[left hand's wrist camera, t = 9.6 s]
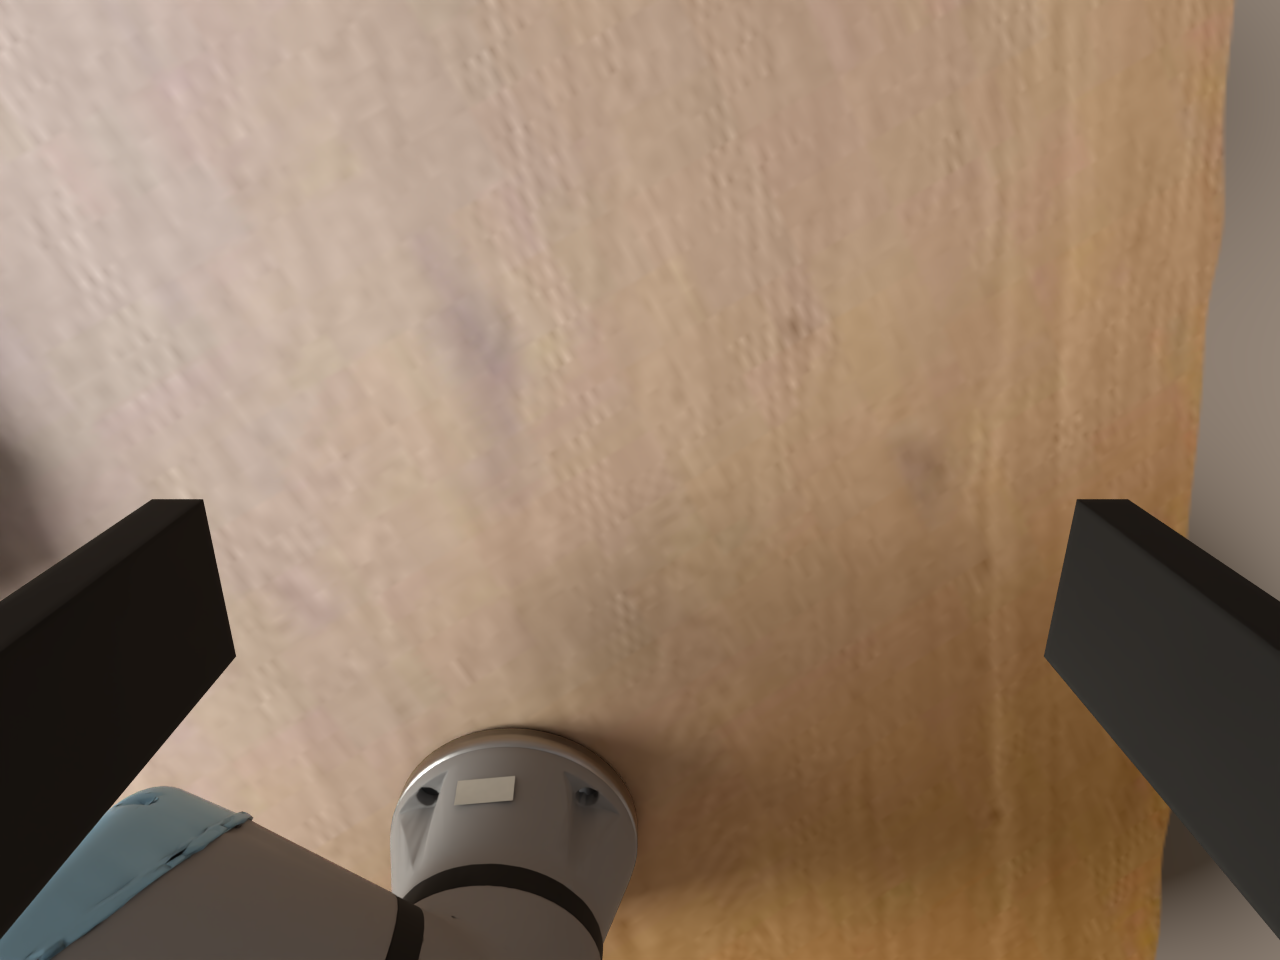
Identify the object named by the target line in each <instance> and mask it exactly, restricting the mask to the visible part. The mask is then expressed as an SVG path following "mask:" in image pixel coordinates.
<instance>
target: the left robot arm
mask: <svg viewBox="0 0 1280 960" xmlns="http://www.w3.org/2000/svg"><path fill="white" fill-rule="evenodd" d="M235 657H236V654H235V649H234V644H233V640H232V635H231V630H230V625H229V621H228V616H227V611H226V606H225V601H224V597H223V592H222V587H221V582H220V578H219V573H218V568H217V563H216V559H215V554H214V549H213V544H212V540H211V535H210V530H209V525H208V521H207V516H206V511H205V506H204V502H203V499H152V500H150V501H149V502H147V503H146V504H144V505H143V506H141V507H140V508H139V509H137V510H136V511H134V512H133V513H131V514H130V515H128V516H127V517H125V518H124V519H122V520H121V521H119V522H118V523H116V524H115V525H113V526H112V527H110V528H109V529H107V530H106V531H104V532H103V533H101V534H100V535H98V536H97V537H95V538H94V539H92V540H91V541H89V542H88V543H87V544H85V545H84V546H82V547H81V548H79V549H78V550H76V551H75V552H73V553H72V554H70V555H69V556H67V557H66V558H64V559H63V560H61V561H60V562H58V563H57V564H55V565H54V566H52V567H51V568H49V569H48V570H46V571H45V572H43V573H42V574H40V575H39V576H37V577H36V578H35V579H33V580H32V581H30V582H29V583H27V584H26V585H24V586H23V587H21V588H20V589H18V590H17V591H15V592H14V593H12V594H11V595H9V596H8V597H6V598H5V599H3V600H2V601H0V960H602V956H603V943H604V941H605V938H606V936H607V933H608V931H609V929H610V926H611V924H612V921H613V919H614V917H615V914H616V912H617V910H618V907H619V905H620V902H621V900H622V898H623V895H624V893H625V890H626V888H627V886H628V883H629V881H630V878H631V875H632V872H633V869H634V866H635V862H636V856H637V816H636V810H635V806H634V803H633V800H632V798H631V795H630V793H629V791H628V789H627V788H626V786H625V784H624V783H623V781H622V780H621V778H620V777H619V776H618V774H617V773H616V772H615V771H614V770H613V769H612V768H611V767H610V766H609V765H608V764H607V763H606V762H605V761H604V760H603V759H601V758H600V757H599V756H597V755H596V754H595V753H593V752H592V751H590V750H588V749H587V748H585V747H583V746H582V745H580V744H578V743H575V742H573V741H571V740H569V739H566V738H564V737H561V736H558V735H554V734H551V733H547V732H542V731H538V730H530V729H519V728H502V729H492V730H485V731H480V732H475V733H472V734H469V735H465V736H462V737H460V738H457V739H455V740H452V741H451V742H449V743H447V744H445V745H443V746H441V747H440V748H438V749H437V750H435V751H434V752H432V753H431V754H430V755H429V756H427V757H426V758H425V759H424V760H423V761H422V762H421V763H420V764H419V765H418V766H417V767H416V769H415V770H414V771H413V772H412V774H411V775H410V777H409V779H408V780H407V782H406V784H405V786H404V788H403V791H402V793H401V796H400V799H399V801H398V804H397V806H396V809H395V812H394V815H393V819H392V824H391V837H390V852H391V882H392V892H390V891H388V890H386V889H384V888H382V887H380V886H378V885H376V884H374V883H372V882H370V881H368V880H366V879H364V878H362V877H360V876H358V875H356V874H354V873H352V872H350V871H348V870H346V869H345V868H343V867H341V866H339V865H337V864H335V863H333V862H331V861H329V860H327V859H325V858H323V857H321V856H319V855H317V854H315V853H313V852H311V851H309V850H307V849H305V848H303V847H301V846H299V845H297V844H295V843H293V842H292V841H290V840H288V839H286V838H284V837H282V836H280V835H278V834H276V833H274V832H272V831H270V830H268V829H266V828H264V827H262V826H260V825H258V824H257V823H255V822H253V821H252V819H253V817H252V816H251V815H250V814H248V813H246V812H239V813H235V812H232V811H230V810H228V809H225V808H223V807H221V806H219V805H216V804H214V803H212V802H209V801H207V800H205V799H202V798H200V797H198V796H196V795H193V794H191V793H189V792H186V791H184V790H182V789H179V788H175V787H168V786H160V787H153V788H148V789H145V790H142V791H139V792H137V793H135V794H133V795H130V796H129V797H127V798H125V799H123V800H122V801H120V802H119V803H117V804H116V805H115V806H113V807H112V808H111V809H109V808H110V807H111V806H112V805H113V804H114V802H115V801H116V800H117V799H118V798H119V796H120V795H121V794H122V793H123V792H124V790H125V789H126V788H127V787H128V786H129V784H130V783H131V782H132V781H133V780H134V778H135V777H136V776H137V775H138V774H139V772H140V771H141V770H142V769H143V768H144V766H145V765H146V764H147V763H148V762H149V760H150V759H151V758H152V757H153V756H154V754H155V753H156V752H157V751H158V750H159V748H160V747H161V746H162V745H163V744H164V742H165V741H166V740H167V739H168V738H169V736H170V735H171V734H172V733H173V732H174V730H175V729H176V728H177V727H178V726H179V724H180V723H181V722H182V721H183V719H184V718H185V717H186V716H187V715H188V713H189V712H190V711H191V710H192V709H193V707H194V706H195V705H196V704H197V703H198V701H199V700H200V699H201V698H202V697H203V695H204V694H205V693H206V692H207V691H208V689H209V688H210V687H211V686H212V685H213V683H214V682H215V681H216V680H217V679H218V677H219V676H220V675H221V674H222V673H223V671H224V670H225V669H226V668H227V667H228V665H229V664H230V663H231V662H232V661H233V659H234V658H235ZM1044 657H1045V658H1046V659H1047V661H1048V662H1049V663H1050V664H1051V665H1052V667H1053V668H1054V669H1055V670H1056V671H1057V673H1058V674H1059V675H1060V676H1061V677H1062V679H1063V680H1064V681H1065V682H1066V683H1067V685H1068V686H1069V687H1070V688H1071V689H1072V691H1073V692H1074V693H1075V694H1076V695H1077V697H1078V698H1079V699H1080V700H1081V701H1082V703H1083V704H1084V705H1085V706H1086V707H1087V709H1088V710H1089V711H1090V712H1091V713H1092V715H1093V716H1094V717H1095V718H1096V720H1097V721H1098V722H1099V723H1100V724H1101V726H1102V727H1103V728H1104V729H1105V730H1106V732H1107V733H1108V734H1109V735H1110V736H1111V738H1112V739H1113V740H1114V741H1115V742H1116V744H1117V745H1118V746H1119V747H1120V748H1121V750H1122V751H1123V752H1124V753H1125V754H1126V756H1127V757H1128V758H1129V759H1130V760H1131V762H1132V763H1133V764H1134V765H1135V766H1136V768H1137V769H1138V770H1139V771H1140V772H1141V774H1142V775H1143V776H1144V777H1145V778H1146V780H1147V781H1148V782H1149V783H1150V784H1151V786H1152V787H1153V788H1154V789H1155V790H1156V792H1157V793H1158V794H1159V795H1160V796H1161V798H1162V799H1163V800H1164V801H1165V802H1166V804H1167V805H1168V806H1169V807H1170V808H1171V810H1172V811H1173V812H1174V813H1175V814H1176V816H1177V817H1178V818H1179V819H1180V820H1181V822H1182V823H1183V824H1184V825H1185V826H1186V828H1187V829H1188V830H1189V831H1190V832H1191V834H1192V835H1193V836H1194V837H1195V838H1196V840H1197V841H1198V842H1199V843H1200V844H1201V846H1202V847H1203V848H1204V849H1205V850H1206V852H1207V853H1208V854H1209V855H1210V856H1211V858H1212V859H1213V860H1214V861H1215V862H1216V864H1217V865H1218V866H1219V867H1220V869H1221V870H1222V871H1223V872H1224V873H1225V875H1226V876H1227V877H1228V878H1229V879H1230V881H1231V882H1232V883H1233V884H1234V885H1235V886H1236V888H1237V889H1238V890H1239V891H1240V892H1241V894H1242V895H1243V896H1244V897H1245V899H1246V900H1247V901H1248V902H1249V903H1250V905H1251V906H1252V907H1253V908H1254V909H1255V911H1256V912H1257V913H1258V914H1259V915H1260V917H1261V918H1262V919H1263V920H1264V921H1265V923H1266V924H1267V925H1268V926H1269V927H1270V929H1271V930H1272V931H1273V932H1274V933H1275V935H1276V936H1277V937H1278V938H1279V939H1280V601H1278V600H1277V599H1275V598H1274V597H1272V596H1271V595H1269V594H1268V593H1266V592H1265V591H1263V590H1262V589H1260V588H1259V587H1257V586H1256V585H1254V584H1253V583H1251V582H1250V581H1248V580H1247V579H1245V578H1244V577H1242V576H1241V575H1239V574H1238V573H1237V572H1235V571H1234V570H1232V569H1231V568H1229V567H1228V566H1226V565H1225V564H1223V563H1222V562H1220V561H1219V560H1217V559H1216V558H1214V557H1213V556H1211V555H1210V554H1208V553H1207V552H1205V551H1204V550H1202V549H1201V548H1199V547H1198V546H1196V545H1195V544H1193V543H1192V542H1191V541H1189V540H1188V539H1186V538H1185V537H1183V536H1182V535H1180V534H1179V533H1177V532H1176V531H1174V530H1173V529H1171V528H1170V527H1168V526H1167V525H1165V524H1164V523H1162V522H1161V521H1159V520H1158V519H1156V518H1155V517H1153V516H1152V515H1150V514H1149V513H1147V512H1146V511H1144V510H1143V509H1141V508H1140V507H1139V506H1137V505H1136V504H1134V503H1133V502H1131V501H1130V500H1128V499H1077V502H1076V506H1075V511H1074V516H1073V521H1072V525H1071V530H1070V535H1069V540H1068V544H1067V549H1066V554H1065V559H1064V563H1063V568H1062V573H1061V578H1060V582H1059V587H1058V592H1057V597H1056V601H1055V606H1054V611H1053V616H1052V620H1051V625H1050V630H1049V635H1048V640H1047V644H1046V649H1045V654H1044Z"/></svg>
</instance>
